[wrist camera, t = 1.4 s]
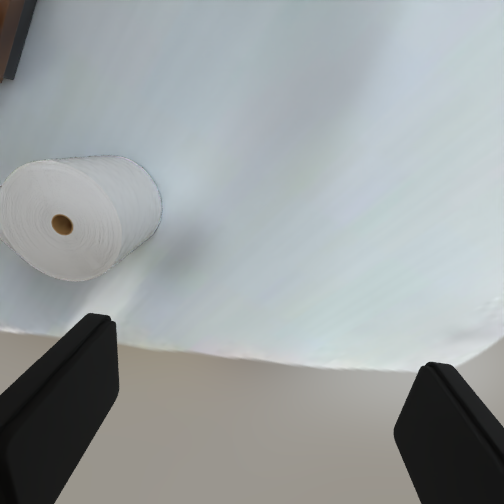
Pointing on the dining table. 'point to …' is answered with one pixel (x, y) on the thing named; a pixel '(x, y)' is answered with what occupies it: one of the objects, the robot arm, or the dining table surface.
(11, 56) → the brush
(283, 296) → the dining table surface
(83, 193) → the toilet tissue
